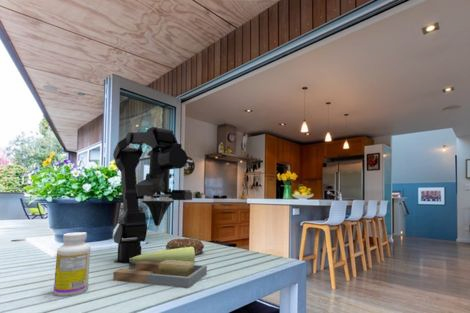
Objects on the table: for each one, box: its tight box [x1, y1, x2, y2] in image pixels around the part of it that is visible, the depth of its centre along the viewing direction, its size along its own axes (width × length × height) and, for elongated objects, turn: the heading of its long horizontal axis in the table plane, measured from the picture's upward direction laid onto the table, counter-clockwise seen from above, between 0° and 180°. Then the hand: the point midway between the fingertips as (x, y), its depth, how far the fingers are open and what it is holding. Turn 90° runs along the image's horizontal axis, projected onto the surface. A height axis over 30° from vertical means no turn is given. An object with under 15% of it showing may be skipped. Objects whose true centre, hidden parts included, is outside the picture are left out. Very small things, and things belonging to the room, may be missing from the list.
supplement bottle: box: [53, 231, 91, 297], centre depth 63 cm, size 7×7×13 cm
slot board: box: [112, 261, 160, 285], centre depth 75 cm, size 10×12×2 cm
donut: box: [165, 237, 205, 256], centre depth 104 cm, size 14×14×5 cm
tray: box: [146, 264, 208, 289], centre depth 72 cm, size 11×12×2 cm
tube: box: [129, 247, 196, 264], centre depth 87 cm, size 6×5×20 cm
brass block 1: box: [159, 260, 179, 275], centre depth 73 cm, size 4×4×4 cm
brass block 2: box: [173, 261, 195, 277], centre depth 72 cm, size 4×4×4 cm
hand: (157, 225), depth 79 cm, fingers closed
